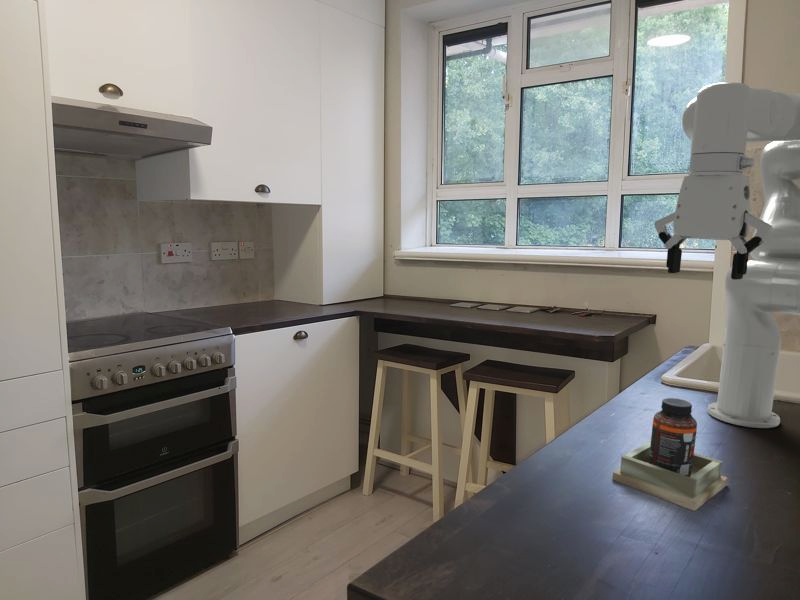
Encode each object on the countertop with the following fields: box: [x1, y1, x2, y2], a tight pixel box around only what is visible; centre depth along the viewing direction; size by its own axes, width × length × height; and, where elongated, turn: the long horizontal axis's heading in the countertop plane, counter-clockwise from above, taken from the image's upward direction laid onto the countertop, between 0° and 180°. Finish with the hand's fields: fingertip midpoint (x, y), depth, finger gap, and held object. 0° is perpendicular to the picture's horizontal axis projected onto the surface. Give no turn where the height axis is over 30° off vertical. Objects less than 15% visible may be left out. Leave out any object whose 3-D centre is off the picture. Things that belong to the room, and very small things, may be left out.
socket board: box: [611, 440, 729, 512], centre depth 88 cm, size 12×12×4 cm
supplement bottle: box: [649, 397, 698, 477], centre depth 87 cm, size 6×6×11 cm
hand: (704, 275), depth 94 cm, fingers open, 9 cm apart
